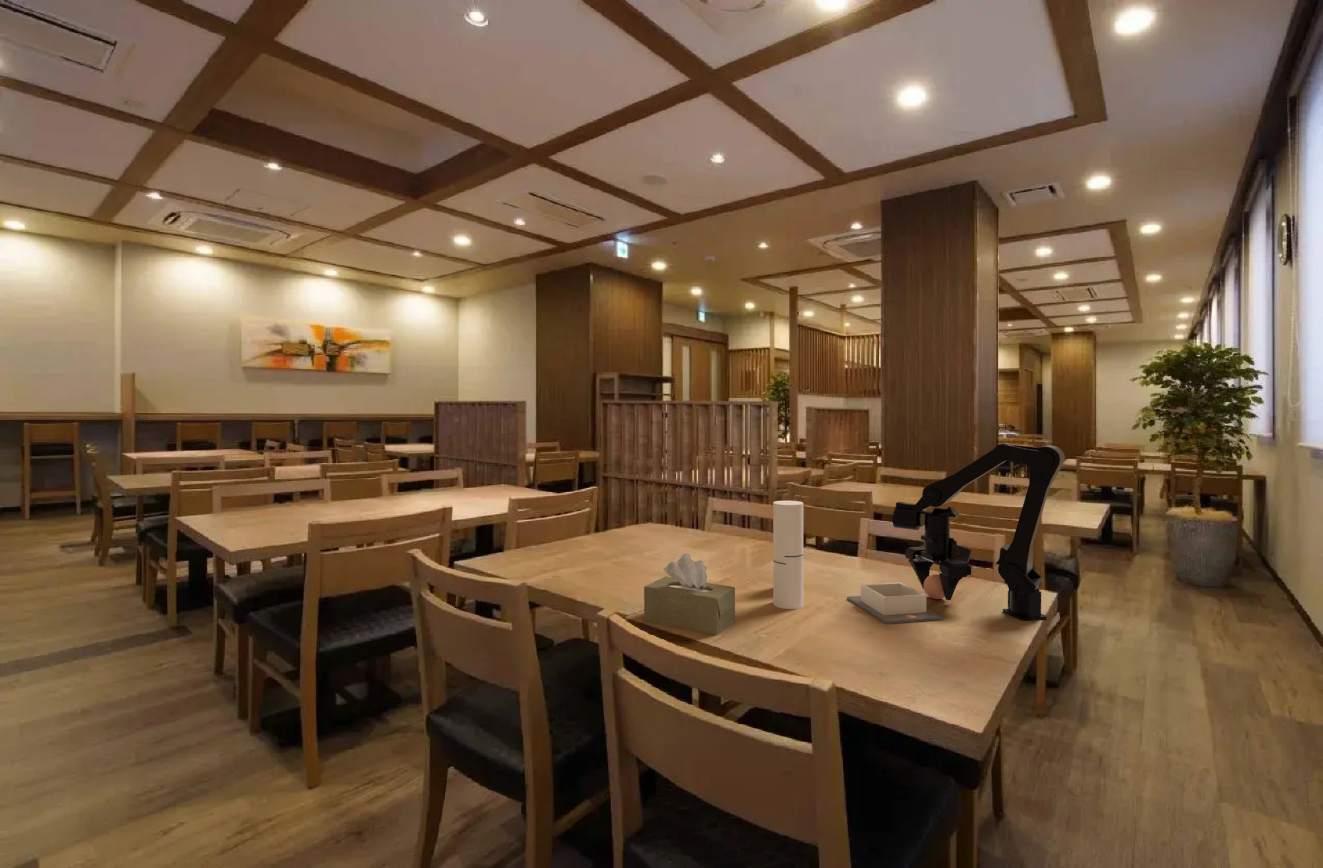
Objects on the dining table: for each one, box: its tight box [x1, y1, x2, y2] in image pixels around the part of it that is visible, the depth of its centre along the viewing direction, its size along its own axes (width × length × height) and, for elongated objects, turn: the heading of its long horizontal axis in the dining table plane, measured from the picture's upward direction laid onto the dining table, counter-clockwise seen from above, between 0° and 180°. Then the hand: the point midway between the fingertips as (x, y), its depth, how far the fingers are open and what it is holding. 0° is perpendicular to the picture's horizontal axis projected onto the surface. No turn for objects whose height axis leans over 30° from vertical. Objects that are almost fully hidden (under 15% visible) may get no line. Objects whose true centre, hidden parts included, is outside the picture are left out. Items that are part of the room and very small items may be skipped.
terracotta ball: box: [923, 574, 945, 600], centre depth 151 cm, size 6×6×6 cm
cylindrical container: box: [772, 500, 804, 610], centre depth 147 cm, size 7×7×25 cm
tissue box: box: [643, 552, 736, 636], centre depth 136 cm, size 19×10×16 cm, turn 59°
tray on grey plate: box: [846, 581, 944, 625], centre depth 144 cm, size 18×14×5 cm
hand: (936, 594), depth 151 cm, fingers open, 9 cm apart
